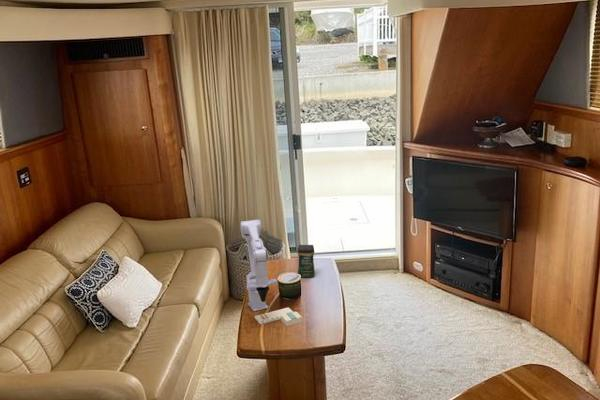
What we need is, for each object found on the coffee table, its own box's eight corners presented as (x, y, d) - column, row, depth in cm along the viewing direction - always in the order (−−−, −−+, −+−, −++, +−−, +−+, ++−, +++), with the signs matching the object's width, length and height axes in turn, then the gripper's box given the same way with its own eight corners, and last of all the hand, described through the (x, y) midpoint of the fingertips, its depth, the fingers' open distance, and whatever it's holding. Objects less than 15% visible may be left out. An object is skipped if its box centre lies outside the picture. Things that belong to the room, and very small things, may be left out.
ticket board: (254, 318, 236) (254, 315, 235) (288, 309, 243) (288, 306, 243) (260, 324, 229) (260, 322, 229) (294, 315, 237) (294, 312, 237)
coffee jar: (297, 278, 278) (296, 247, 273) (298, 272, 285) (297, 242, 280) (314, 278, 277) (313, 247, 272) (315, 272, 284) (314, 242, 280)
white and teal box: (281, 321, 233) (281, 314, 232) (296, 317, 236) (296, 310, 235) (286, 326, 227) (286, 320, 226) (302, 322, 231) (301, 315, 230)
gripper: (249, 280, 220) (251, 308, 223) (279, 273, 226) (280, 300, 229) (244, 275, 226) (246, 302, 229) (273, 268, 232) (274, 294, 236)
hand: (262, 300), depth 230 cm, fingers closed
